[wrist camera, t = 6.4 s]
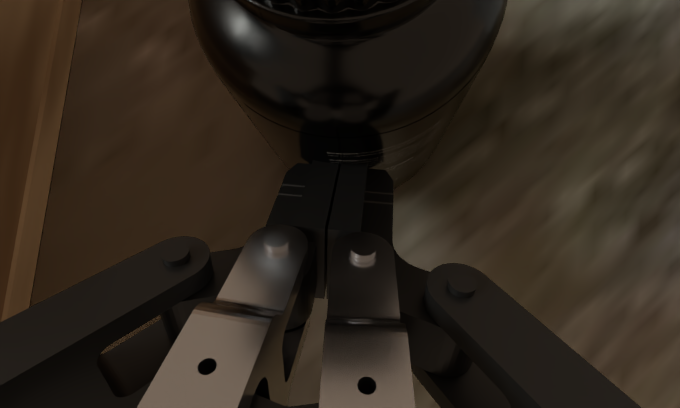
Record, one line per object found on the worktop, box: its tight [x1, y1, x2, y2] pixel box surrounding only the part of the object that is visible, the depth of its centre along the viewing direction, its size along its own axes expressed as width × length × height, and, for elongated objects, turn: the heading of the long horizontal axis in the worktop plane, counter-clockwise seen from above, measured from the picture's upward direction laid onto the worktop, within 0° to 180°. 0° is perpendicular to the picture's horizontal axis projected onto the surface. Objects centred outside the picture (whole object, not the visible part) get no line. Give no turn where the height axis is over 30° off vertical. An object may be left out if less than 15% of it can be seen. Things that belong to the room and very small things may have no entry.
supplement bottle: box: [188, 0, 507, 189], centre depth 11 cm, size 7×7×12 cm
